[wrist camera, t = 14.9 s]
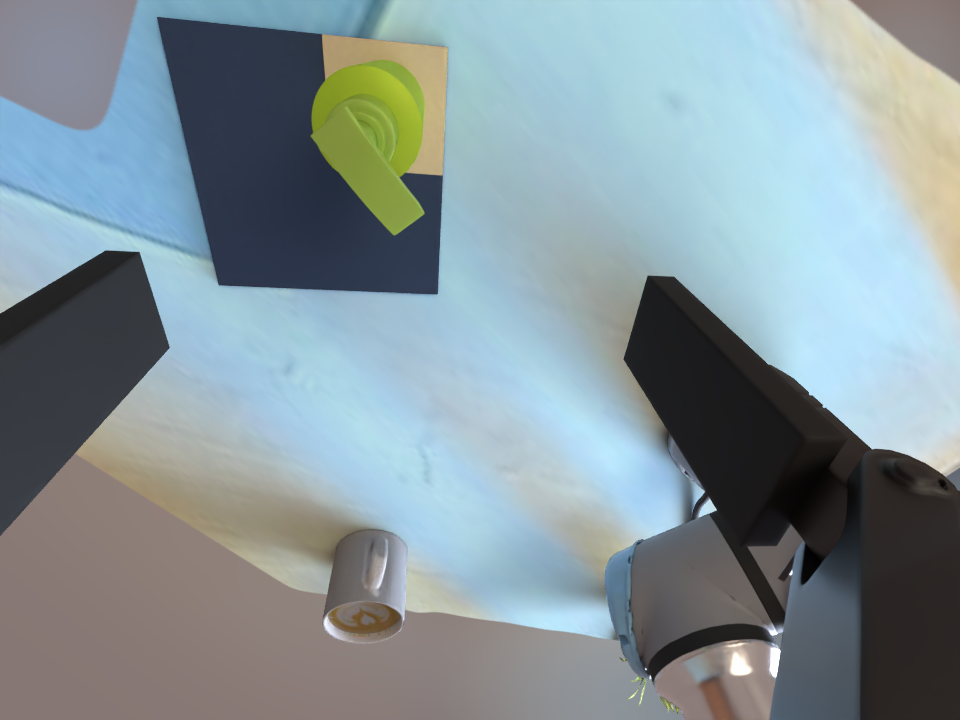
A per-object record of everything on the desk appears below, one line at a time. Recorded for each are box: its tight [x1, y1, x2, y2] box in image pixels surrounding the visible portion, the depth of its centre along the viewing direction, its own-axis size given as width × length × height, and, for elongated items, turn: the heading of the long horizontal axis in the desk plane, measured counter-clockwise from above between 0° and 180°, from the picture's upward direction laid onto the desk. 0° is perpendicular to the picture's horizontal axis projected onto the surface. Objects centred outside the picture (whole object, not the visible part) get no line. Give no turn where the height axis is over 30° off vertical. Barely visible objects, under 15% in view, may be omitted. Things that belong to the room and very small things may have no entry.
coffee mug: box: [323, 530, 408, 644], centre depth 62 cm, size 13×10×10 cm
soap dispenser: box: [311, 60, 425, 235], centre depth 28 cm, size 6×7×20 cm
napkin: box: [157, 17, 448, 294], centre depth 39 cm, size 20×20×1 cm
